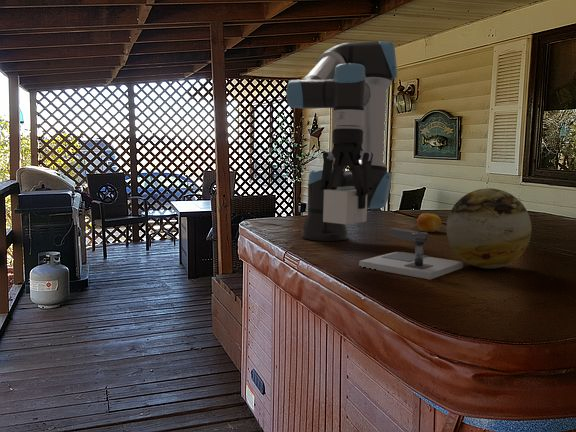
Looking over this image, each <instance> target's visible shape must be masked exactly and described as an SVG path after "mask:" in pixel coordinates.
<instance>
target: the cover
mask: <svg viewBox="0 0 576 432" xmlns="http://www.w3.org/2000/svg"><path fill="white" fill-rule="evenodd" d="M356 194H357V191H356V189H355V187H353V186H349V187H337V189H330V190H324V205H323V222H329V223H338V224H345V225H352V224H359V223H367V213H368V208H367V195H366V201H365V209H363V213H362V222H354V196H357V195H356Z"/></svg>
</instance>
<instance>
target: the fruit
mask: <svg viewBox="0 0 576 432" xmlns="http://www.w3.org/2000/svg"><path fill="white" fill-rule="evenodd" d="M416 225H417V227H418V229H419V230H420V231H421V232H426V233H434V232H437V231H439V229H440V228H441V226H442V220H441V218H440V216H439V215H437V214H435V213H429V212H423V213H421V214H420V215H419V216H418V218H417V219H416Z"/></svg>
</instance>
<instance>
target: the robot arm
mask: <svg viewBox="0 0 576 432" xmlns="http://www.w3.org/2000/svg"><path fill="white" fill-rule="evenodd" d="M397 68H398V67H397V58H396V49H395V45H394V43H393V42H392V41H390V40H389V41H386V40H385V41H383V40H382V41H381V40H378V41H376V40H375V41H354V42H353V41H351V42H350V41H349V42H343V43H340V44H337V45H335V46H332V47H330V48H328V49H326V50H325V51H324V52H323V53H321V55H319V56H318V58H317V60H316V64H315V66H314V67H313V68H312V69H311V70H310V71H309V72H308V73H307V74H306V75H305V76H304V78H303V79H299V78H297V79H291V80H289V81H288V83H287V85H286V90H285V91H286V94H285V95H286V96H285V97H286V102H287V105H288V106H289V108H291V109H300V110H302V109H333V115H332V116H333V117H332V118H333V119H332V122H333V123H332V126H333V127H334V129H333V130H332V144H333V148H332V150H331V151H323V152H322V158H323V162H322V163H323V165H322V168H321V169H313V170H311V171H310V172H309V174H308V183H307V213H306V214H307V215H306V218H305V221H304V224H303V228H302V229H301V238H302V239H305V240H309V241H310V240H311V241H316V242H317V241H320V242H321V241H322V242H335V241H336V242H337V241H344V240H347V239H348V230H347V226H346V225H347V224H338V223H329V222H323V205H324V190H330V189H337V187H349V186H353V187H355V189H356V191H357V194H356V195H357V196H354V222H360V223H363V222H362V213H363V209H365V201H366V195H367V209H370V210H372V209H382V208H384V207H385V206H386V205H387V203H388V199H389V196H390V191H391V184H392V176H393V175H392V172H389V171H388V166H387V165H386V164H385V163H384V145H385V144H384V143H385V128H386V125H385V124H386V111H387V110H386V108H387V107H386V106H387V92H388V91H387V90H388V89H389V88H390V87H391V86H392V84H393V79H396V78H397V77H398V69H397ZM345 167H348V169H349V170H350V171H345Z"/></svg>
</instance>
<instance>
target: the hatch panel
mask: <svg viewBox="0 0 576 432" xmlns="http://www.w3.org/2000/svg"><path fill="white" fill-rule="evenodd" d="M414 262H415V253H412V252H405V251H394V252H389V253H385V254H382V255H377V256H374V257H370V258H366V259H362V260H359V262H358V267H359V266H361V267H360V268H363V267H366V268H365V269H369V268H371V269H370V270H374V269H376V271H380V272H386V273H390V274H391V273H392V274H398V275H402V276H409V277H413V278H419V279H426V280H433V279H435V278H436V279H437V277H441V276H444V275H446V274H450V273H453V272H455V271H458V270H461V269H463V268H464V261H459V260H454V259H453V260H452V259H448V258H447V259H446V258H440V257H433V256H429V255H425V254H424V255H423V265H415V264H414Z"/></svg>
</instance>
